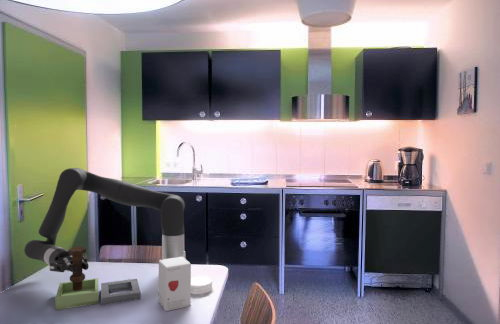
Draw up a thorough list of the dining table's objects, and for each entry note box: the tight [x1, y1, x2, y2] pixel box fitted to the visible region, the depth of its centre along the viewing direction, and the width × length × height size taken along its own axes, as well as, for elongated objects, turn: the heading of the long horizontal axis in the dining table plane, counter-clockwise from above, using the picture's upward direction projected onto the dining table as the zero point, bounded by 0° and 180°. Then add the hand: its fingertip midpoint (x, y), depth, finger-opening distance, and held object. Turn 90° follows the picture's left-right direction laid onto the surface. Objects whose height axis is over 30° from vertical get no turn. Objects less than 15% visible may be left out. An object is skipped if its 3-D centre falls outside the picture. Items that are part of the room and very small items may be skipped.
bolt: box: [67, 246, 87, 291], centre depth 127 cm, size 6×5×15 cm
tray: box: [54, 277, 99, 311], centre depth 127 cm, size 13×14×4 cm
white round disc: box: [191, 275, 213, 296], centre depth 136 cm, size 10×10×4 cm
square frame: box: [100, 278, 142, 306], centre depth 131 cm, size 13×14×2 cm
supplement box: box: [158, 257, 192, 312], centre depth 123 cm, size 9×9×15 cm
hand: (81, 268), depth 125 cm, fingers closed on bolt, 3 cm apart
